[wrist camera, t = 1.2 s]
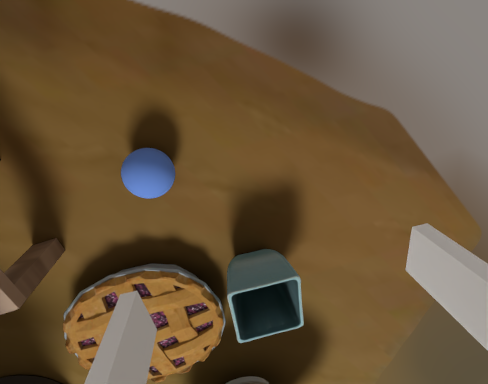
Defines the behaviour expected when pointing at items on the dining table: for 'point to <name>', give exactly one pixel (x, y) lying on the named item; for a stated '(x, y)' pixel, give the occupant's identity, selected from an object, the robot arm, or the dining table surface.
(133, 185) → the ball
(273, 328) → the flower pot
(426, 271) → the robot arm
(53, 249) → the bridge
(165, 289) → the pie
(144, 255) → the dining table surface
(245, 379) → the decorative bowl
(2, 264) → the dining table surface
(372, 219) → the dining table surface
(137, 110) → the dining table surface
